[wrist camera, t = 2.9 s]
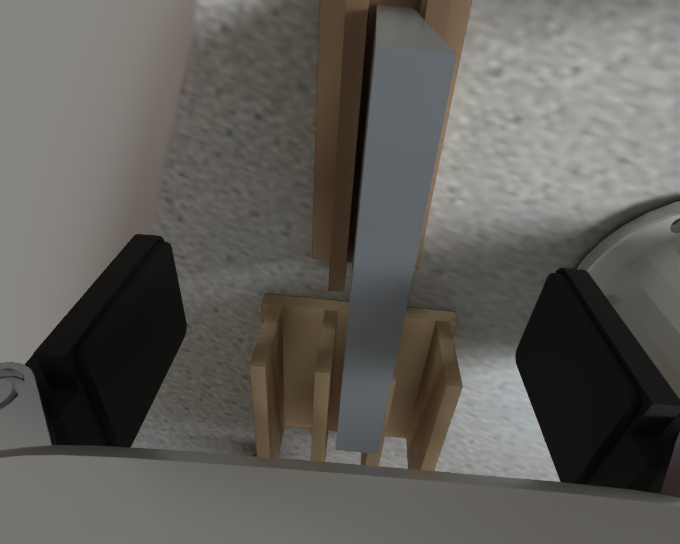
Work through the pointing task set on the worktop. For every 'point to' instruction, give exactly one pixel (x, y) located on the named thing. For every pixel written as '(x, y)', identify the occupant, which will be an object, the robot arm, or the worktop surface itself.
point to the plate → (390, 210)
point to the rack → (326, 378)
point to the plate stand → (358, 115)
